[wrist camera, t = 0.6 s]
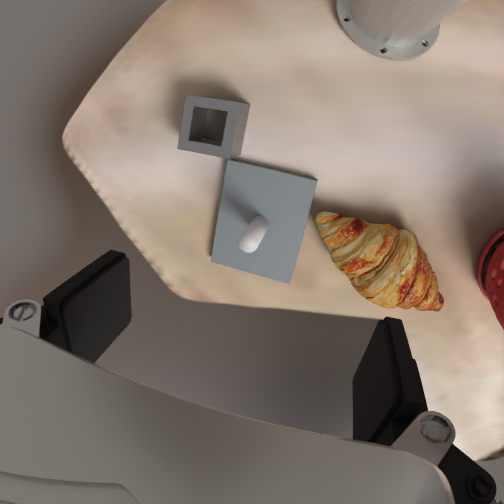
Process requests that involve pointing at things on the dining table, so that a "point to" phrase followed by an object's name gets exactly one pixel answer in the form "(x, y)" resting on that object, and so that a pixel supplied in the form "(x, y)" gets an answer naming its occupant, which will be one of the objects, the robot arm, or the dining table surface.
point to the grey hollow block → (195, 126)
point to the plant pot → (493, 274)
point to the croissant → (381, 262)
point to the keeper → (261, 219)
